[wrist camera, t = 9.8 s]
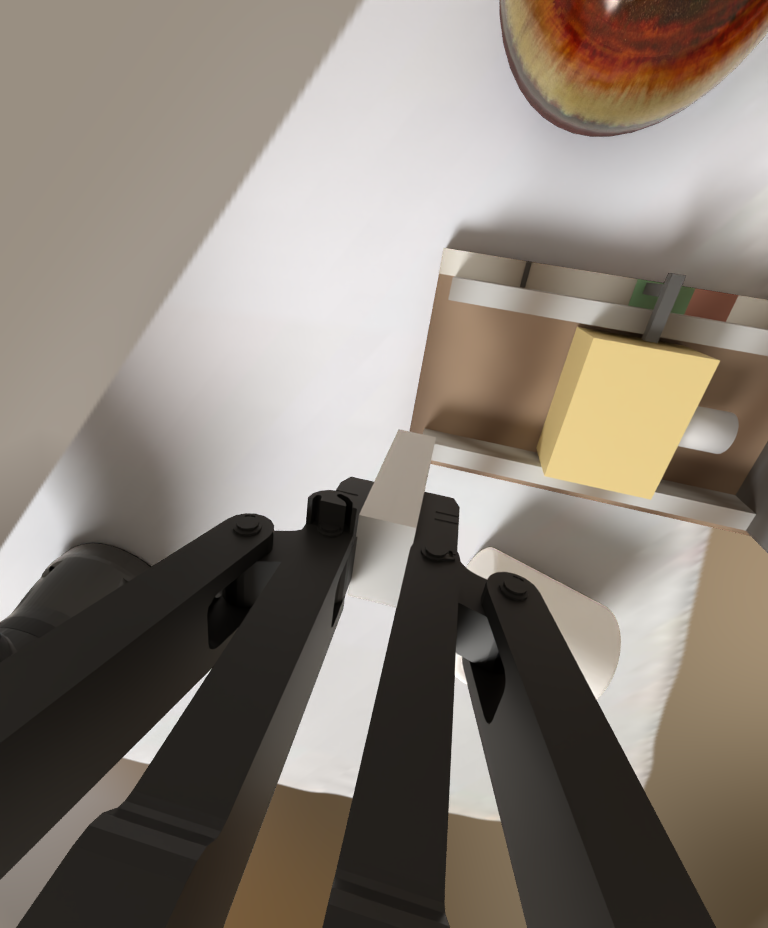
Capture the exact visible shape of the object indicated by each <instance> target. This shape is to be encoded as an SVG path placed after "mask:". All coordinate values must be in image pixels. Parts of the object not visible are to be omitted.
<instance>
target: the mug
mask: <svg viewBox="0 0 768 928" xmlns="http://www.w3.org/2000/svg"><path fill="white" fill-rule="evenodd" d="M466 568H467V569H468V570H470V571H471V572H473V573H475V574H477V575H479V576H481V577H483V578H485V579H488V577H489V576H490V575H492V574H494V573H496V572H509V573H514V574H517V575H519V576H521V577H524V578H526V579H527V580H528V581H530V582H531V583H532V584H534V585H535V587H536V588H537V589H538V590H539V592H540V593H541V595H542V597H543V599H544V601H545V603H546V605H547V607H548V609H549V611H550V612H551V614H552V616H553V618H554V620H555V622H556V624H557V626H558V628H559V630H560V632H561V633H562V635H563V637H564V639H565V641H566V643H567V645H568V647H569V649H570V651H571V652H572V654H573V656H574V658H575V660H576V662H577V664H578V666H579V668H580V670H581V671H582V673H583V675H584V677H585V679H586V681H587V683H588V685H589V687H590V689H591V690H592V692H593V694H594V696H595V698H596V700H597V699H598V698H599V697H600V696H601V695H602V693H603V692H604V691H605V690H606V688H607V687H608V685H609V683H610V682H611V680H612V678H613V675H614V673H615V670H616V668H617V664H618V660H619V656H620V648H621V636H620V629H619V625H618V622H617V620H616V618H615V616H614V614H613V613H612V612H611V611H610V610H609V609H608V608H607V607H605V606H604V605H602V604H600V603H598V602H596V601H594V600H592V599H591V598H589V597H587V596H585V595H583V594H581V593H579V592H577V591H575V590H573V589H571V588H570V587H568V586H566V585H564V584H562V583H560V582H558V581H556V580H554V579H552V578H550V577H549V576H547V575H545V574H543V573H541V572H539V571H537V570H535V569H533V568H531V567H529V566H528V565H526V564H524V563H522V562H520V561H518V560H516V559H514V558H512V557H510V556H508V555H507V554H505V553H503V552H501V551H499V550H497V549H495V548H493V547H488V548H485V549H483V550H481V551H480V552H479V553H478V554H476V555H475V557H474V558H473V559H472V560H471V561H470V562H469V564H468V565H467V567H466ZM455 676H456V677H457V678H458V679H460V680H461V681H462V682H464V683H465V684H467V681H466V677H465V673H464V669H463V665H462V656H460V655H458V654H456V660H455Z"/></svg>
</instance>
